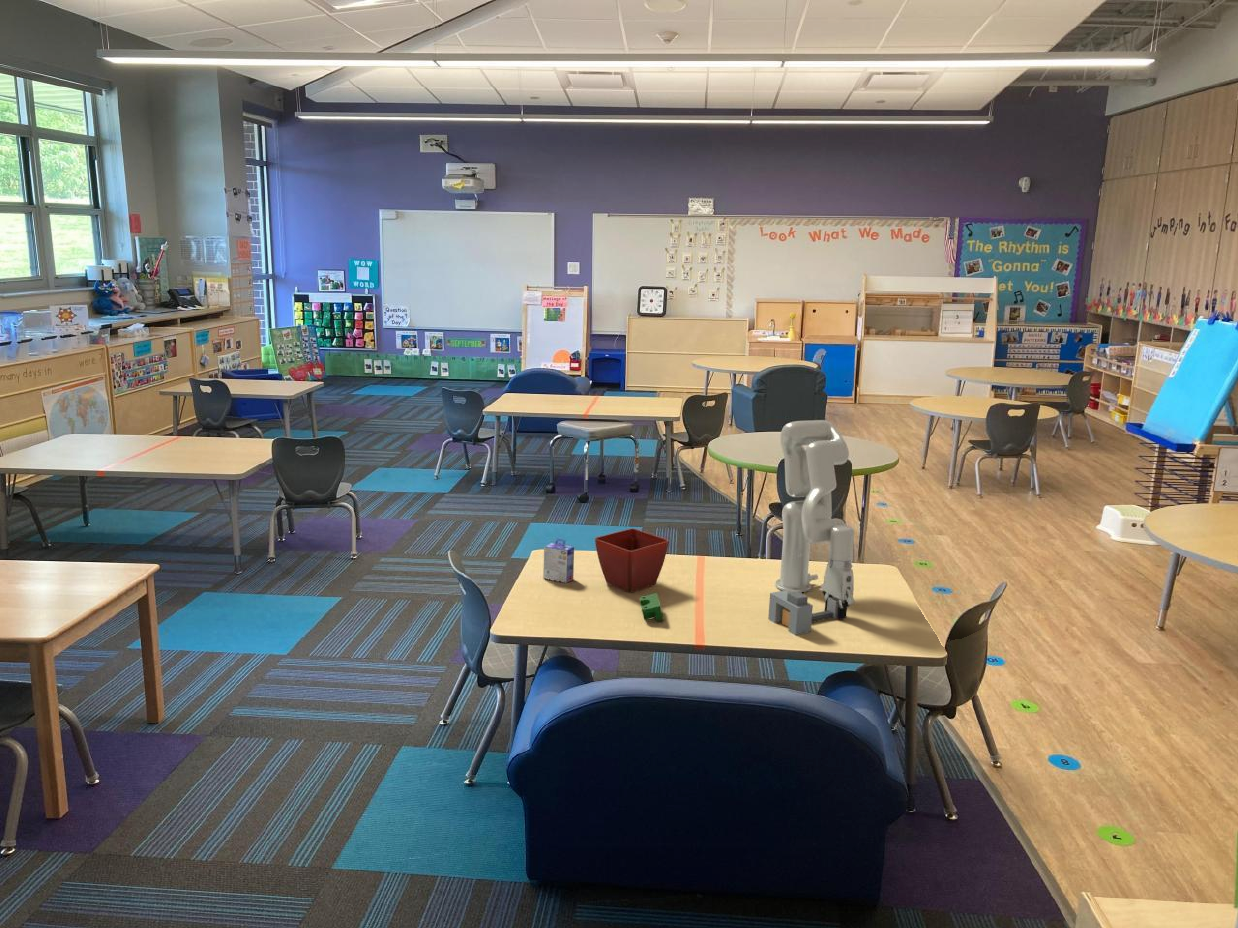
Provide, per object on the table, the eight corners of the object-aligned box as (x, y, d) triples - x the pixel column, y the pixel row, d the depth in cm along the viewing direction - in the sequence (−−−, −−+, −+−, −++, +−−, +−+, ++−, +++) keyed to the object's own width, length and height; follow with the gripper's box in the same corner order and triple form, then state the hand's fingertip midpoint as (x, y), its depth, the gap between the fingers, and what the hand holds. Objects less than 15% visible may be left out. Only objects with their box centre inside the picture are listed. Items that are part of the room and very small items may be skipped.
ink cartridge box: (574, 578, 333) (575, 540, 330) (567, 583, 329) (567, 544, 325) (550, 574, 338) (550, 536, 334) (542, 578, 333) (543, 540, 329)
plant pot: (592, 582, 331) (593, 537, 327) (631, 571, 343) (633, 527, 339) (628, 598, 317) (630, 551, 313) (668, 585, 329) (670, 540, 326)
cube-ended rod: (834, 612, 310) (836, 595, 308) (844, 617, 306) (846, 600, 304) (781, 623, 300) (783, 605, 298) (791, 628, 295) (792, 611, 294)
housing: (783, 616, 305) (785, 583, 303) (810, 631, 293) (813, 597, 291) (768, 618, 303) (770, 585, 300) (795, 635, 291) (798, 600, 288)
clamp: (645, 624, 307) (639, 597, 308) (663, 620, 307) (657, 593, 308) (645, 624, 295) (638, 596, 296) (663, 620, 295) (657, 592, 296)
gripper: (866, 569, 297) (861, 622, 301) (831, 553, 312) (826, 604, 316) (848, 572, 293) (844, 626, 298) (813, 556, 308) (809, 607, 312)
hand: (835, 614), depth 307 cm, fingers open, 5 cm apart
